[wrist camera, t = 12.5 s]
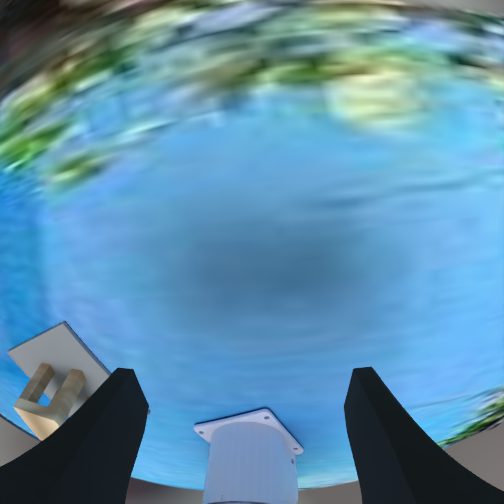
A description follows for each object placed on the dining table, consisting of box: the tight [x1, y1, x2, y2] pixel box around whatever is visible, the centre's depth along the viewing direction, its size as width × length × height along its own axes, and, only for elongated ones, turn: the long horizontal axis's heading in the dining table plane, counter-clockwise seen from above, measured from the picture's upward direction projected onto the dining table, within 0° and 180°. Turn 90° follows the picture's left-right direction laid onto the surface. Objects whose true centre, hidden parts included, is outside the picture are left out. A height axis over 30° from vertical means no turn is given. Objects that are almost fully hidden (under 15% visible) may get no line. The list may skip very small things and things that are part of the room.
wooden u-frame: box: [14, 363, 89, 441], centre depth 22 cm, size 5×5×6 cm
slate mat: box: [7, 321, 150, 417], centre depth 25 cm, size 12×12×1 cm
